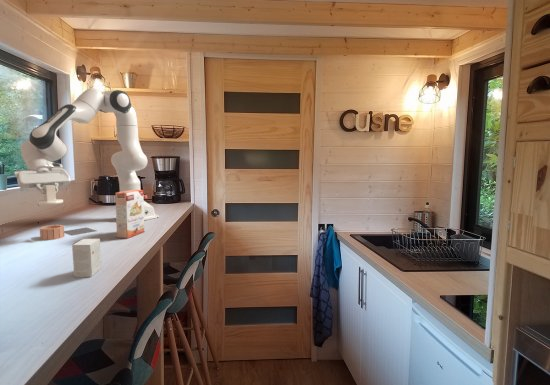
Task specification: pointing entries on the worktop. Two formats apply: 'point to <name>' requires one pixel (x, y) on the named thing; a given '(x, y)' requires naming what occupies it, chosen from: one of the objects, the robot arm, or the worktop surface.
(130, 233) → the cracker box
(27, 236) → the worktop surface
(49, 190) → the lid
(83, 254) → the small box
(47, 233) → the bowl
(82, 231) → the rubber mat
